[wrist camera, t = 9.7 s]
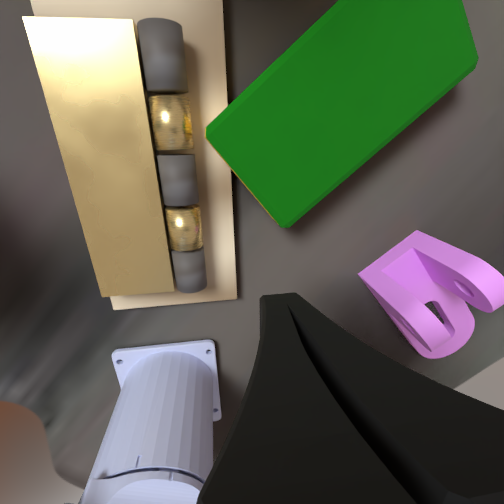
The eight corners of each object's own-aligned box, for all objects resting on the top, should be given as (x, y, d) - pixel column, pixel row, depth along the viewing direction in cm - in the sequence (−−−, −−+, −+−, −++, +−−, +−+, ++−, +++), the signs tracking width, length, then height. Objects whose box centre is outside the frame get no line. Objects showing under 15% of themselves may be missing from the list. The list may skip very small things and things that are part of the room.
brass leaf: (42, 29, 13) (13, 10, 11) (184, 32, 13) (179, 15, 11) (110, 285, 18) (98, 302, 16) (208, 278, 19) (207, 293, 17)
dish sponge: (444, 73, 17) (482, 63, 14) (274, 220, 18) (285, 232, 16) (398, -57, 14) (437, -95, 11) (200, 132, 15) (200, 131, 13)
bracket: (356, 273, 22) (416, 329, 15) (415, 229, 21) (504, 269, 14) (419, 356, 27) (484, 425, 20) (469, 324, 26) (553, 385, 19)
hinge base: (34, -18, 13) (-14, -59, 10) (221, -9, 14) (223, -45, 11) (117, 303, 20) (102, 329, 17) (236, 293, 21) (239, 315, 18)
